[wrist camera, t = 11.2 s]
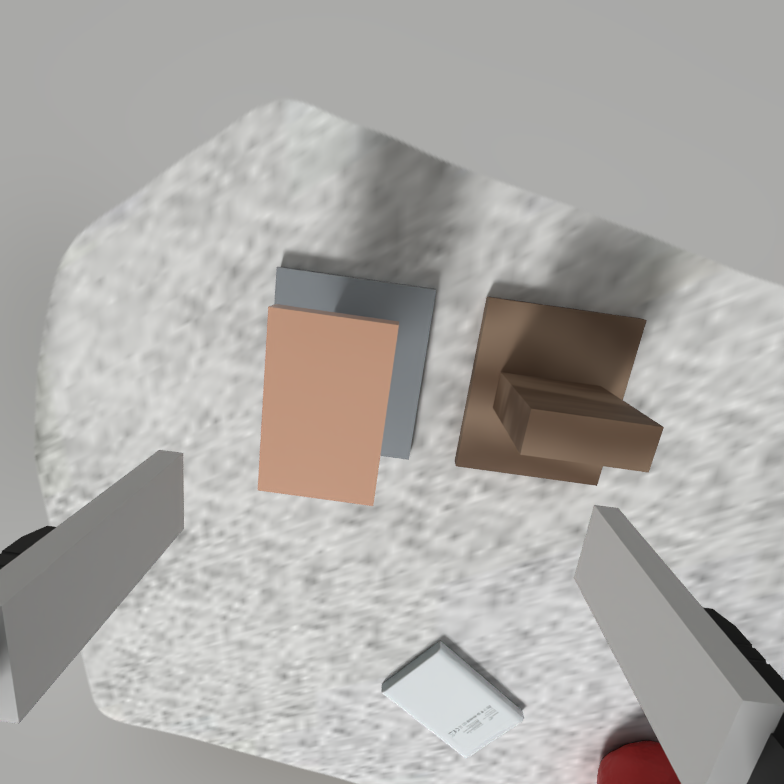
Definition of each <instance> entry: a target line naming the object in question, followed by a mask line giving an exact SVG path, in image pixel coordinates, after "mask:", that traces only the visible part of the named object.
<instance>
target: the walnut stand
mask: <svg viewBox="0 0 784 784" xmlns="http://www.w3.org/2000/svg"><path fill="white" fill-rule="evenodd" d="M645 324H646V320H644V319H640V318H633V317H626V316H619V315H612V314H605V313H598V312H591V311H584V310H577V309H570V308H564V307H557V306H550V305H543V304H536V303H529V302H522V301H515V300H508V299H501V298H494V297H487V298H486V303H485V308H484V313H483V319H482V324H481V329H480V334H479V339H478V344H477V349H476V354H475V360H474V365H473V370H472V375H471V380H470V385H469V390H468V395H467V401H466V406H465V411H464V416H463V421H462V426H461V431H460V436H459V442H458V447H457V452H456V457H455V464H456V466H459V467H466V468H473V469H480V470H488V471H495V472H502V473H509V474H517V475H524V476H531V477H538V478H546V479H553V480H560V481H567V482H575V483H582V484H589V485H596V486H597V484H598V480H599V477H600V474H601V470H602V467H603V466H606V467H613V468H621V469H628V470H635V471H642V472H649V470H650V467H651V464H652V461H653V458H654V455H655V452H656V449H657V446H658V443H659V440H660V437H661V434H662V431H663V428H664V427H663V426H661V425H660V424H658V423H657V422H655V421H653V420H652V419H650V418H649V417H647V416H646V415H644V414H643V413H641V412H640V411H638V410H637V409H635V408H634V407H632V406H630V405H629V404H627V403H626V402H624V401H623V397H624V394H625V390H626V387H627V384H628V380H629V377H630V374H631V370H632V367H633V364H634V360H635V357H636V354H637V350H638V347H639V344H640V340H641V337H642V334H643V330H644V327H645Z"/></svg>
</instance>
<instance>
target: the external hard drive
mask: <svg viewBox="0 0 784 784" xmlns="http://www.w3.org/2000/svg"><path fill="white" fill-rule="evenodd" d="M381 692H382V693H383V694H384V695H385V696H386V697H388V698H389V699H390V700H392V701H393V702H394V703H395V704H397V705H398V706H399V707H401V708H402V709H403V710H404V711H406V712H407V713H408V714H409V715H411V716H412V717H413V718H415V719H416V720H417V721H418V722H420V723H421V724H422V725H423V726H425V727H426V728H427V729H429V730H430V731H431V732H432V733H434V734H435V735H436V736H438V737H439V738H440V739H441V740H443V741H444V742H445V743H446V744H448V745H449V746H450V747H452V748H453V749H454V750H456V751H457V752H458V753H459V754H461V755H462V756H463V757H464V758H468V757H470V756H471V755H473V754H475V753H476V752H478V751H479V750H480V749H482V748H483V747H485V746H486V745H488V744H489V743H491V742H492V741H494V740H495V739H497V738H499V737H500V736H502V735H503V734H505V733H506V732H508V731H509V730H511V729H512V728H514V727H515V726H517V725H518V724H520V723H521V722H522V721H523V719H524V716H523V712H522V710H521V709H520V708H519V707H517V706H516V705H515V704H514V703H513V702H511V701H510V700H509V699H508V698H507V697H506V696H504V695H503V694H502V693H501V692H500V691H499V690H497V689H496V688H495V687H494V686H493V685H492V684H491V683H489V682H488V681H487V680H486V679H485V678H483V677H482V676H481V675H480V674H479V673H478V672H476V671H475V670H474V669H473V668H472V667H471V666H469V665H468V664H467V663H466V662H465V661H464V660H462V659H461V658H460V657H459V656H458V655H457V654H455V653H454V652H453V651H452V650H451V649H450V648H448V647H447V646H446V645H445V644H444V643H443V642H441V641H439V642H437V643H436V644H435V645H433V646H432V647H431V648H429V649H428V650H427V651H425V652H424V653H423V654H421V655H420V656H419V657H417V658H416V659H415V660H413V661H412V662H411V663H409V664H408V665H407V666H405V667H404V668H403V669H401V670H400V671H399V672H397V673H396V674H395V675H393V676H392V677H391V678H389V679H388V680H387V681H385V682H384V683H383V684H382V691H381Z"/></svg>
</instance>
